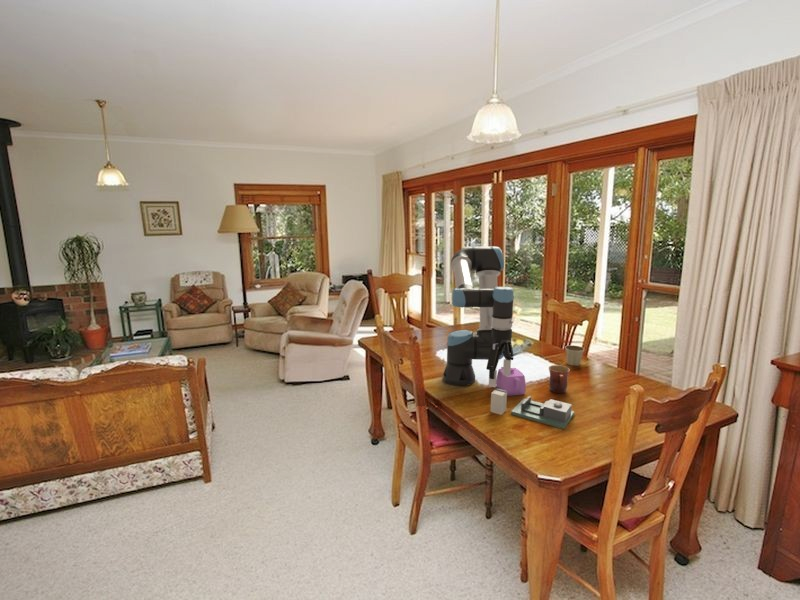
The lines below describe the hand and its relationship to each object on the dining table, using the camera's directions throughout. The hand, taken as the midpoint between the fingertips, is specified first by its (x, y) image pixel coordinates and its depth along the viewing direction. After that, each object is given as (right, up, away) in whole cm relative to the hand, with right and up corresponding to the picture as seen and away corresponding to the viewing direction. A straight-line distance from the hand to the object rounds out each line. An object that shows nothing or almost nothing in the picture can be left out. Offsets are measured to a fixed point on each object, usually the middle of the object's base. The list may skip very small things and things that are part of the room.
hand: (499, 380), depth 160 cm
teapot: (+10, -9, +23) cm, 26 cm away
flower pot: (+51, -2, +54) cm, 74 cm away
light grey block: (0, -13, +3) cm, 13 cm away
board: (+17, -13, 0) cm, 21 cm away
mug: (+30, -9, +20) cm, 37 cm away
